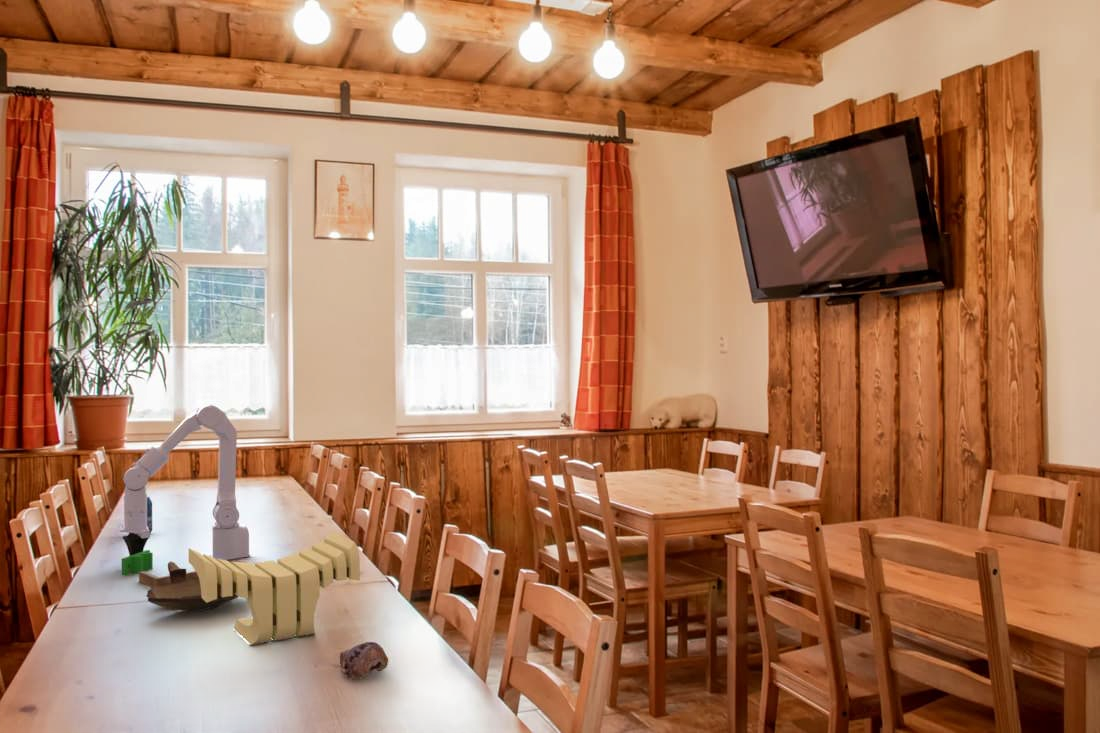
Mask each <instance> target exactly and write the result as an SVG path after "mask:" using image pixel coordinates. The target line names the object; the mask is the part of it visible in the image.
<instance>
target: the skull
mask: <svg viewBox="0 0 1100 733" xmlns="http://www.w3.org/2000/svg"><path fill="white" fill-rule="evenodd" d="M340 664H341V666H340V667H341V671H340V672H341V673H343V674H344V675H345V676H346V678H347V677H348V678H347V679H349V678H351V679H350V680H355V679H354V678H356V680H361V679H360V678H362V679H364V678H365V677H366V676H367V675H368V674H370V673H372V672H373V671H377V672H382V671H384V670H385V669H386V668H387V667H388V664H389V657H388V656H387V654H386V652H385V650H384V648H383V647H382V646H381V645H380V644H379V643H378V642H375V641H368V642H364V643H361V644H360V643H359V644H358V645H355V646H353V647H351V648H350V649H345V650H344V651H341V652H340V655H339V665H340Z"/></svg>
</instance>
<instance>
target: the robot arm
mask: <svg viewBox="0 0 1100 733" xmlns="http://www.w3.org/2000/svg"><path fill="white" fill-rule="evenodd" d="M201 426H202V427H204V428H206V429H208V430H210V431H212V432H213V433H214V434H215V435H216V436H217V437H218V438H219V439H218V440H219V442H218V470H217V493H216V502H215V504H214V506H213V509H212V515H213V516H212V517H213V518H214V520H215V522H214V523H213V525H212V526H211V528H212V531H211V532H212V554H210V555H209V554H208V556H211V557H213V558H215V559H216V560H217V561H218V559H222V560H227V561H230V560H235V559H241V558H247V557H251V554H250V534H249V533H250V532H249V528H248V527H247V525H245V524H240V523H239V522H238V521H239V519H240V512H239V510H238V507H237V498H236V478H237V477H236V476H237V474H236V473H237V444H238V442H237V440H238V439H237V438H238V434H237V433H238V432H237V429H236V428H235V426H234V425H233V423H232V421H231V420H230V419H229V418H228V416H227V414H226V412H224V411H223V410H221V409H220V408H219V407H217V406H215V405H213V404H209V403H207V404H203V405H201V406H199V407H198V408H197V410H196V411H194V412H192V413H191V414H190V415H188V416H187V417H186V418H184V419H183V420H182V422H181V423H180V424H179V425H178V426H177V427H176V428H175V429H174V430H173V431H172V433H170V434H169V436H168V437H167V438H166V439H165V440H164V441H163V442H162V443H161V444H159V445H152V446H151V447H150V448H149V447H147V448H146V449H145V450H144V452H145V453H144V454H143V455H142V456H141V457H140V458H138V460H137V461H136V462H135V461H134V462H133V463H132V464H131V466H132V467H131V468H128V469H127V470H126V472H124V474H123V482H124V484H125V486H124V495H123V520H124V521H123V524H122V525H121V526H122V528H120V529H119V532H120V533H128V535H124V536H122V540H123V541H124V542H125V545H126V548H127V550H128V556H131V555H134V554H137V553H139V552H142V551H145V550H144V549H145V547H146V544H147V542H148V540H149V538H151V533H150V530H148V526H147V497H148V494H147V493H146V492H147V487H146V486H147V484H148V481H149V478H151V477H154V475H156V473H157V472H158V471H160V470H161V469H162V468H163V466H165V464H166V463H167V462H168V461H169V460H170V453H171V452H172V450H174V449H175V448H176V447H177V446H178V445H179V444H180V443H181V442H182V441H183V440H184V439H185V438H187V436H189V435H190V434H191V433H193V432H198V431H200V430H202V428H201Z"/></svg>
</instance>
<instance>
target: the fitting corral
mask: <svg viewBox="0 0 1100 733" xmlns="http://www.w3.org/2000/svg"><path fill="white" fill-rule="evenodd" d="M186 579H187V580H188V581H194V580H199V577H198V574H197V572H196V570H193V571H186ZM138 582H139V583H141V582H142V584H143V583H144V585H146V586H148V587H150V586H151V587H150V588H156V587H159V586H164V585H168V584H171V580H170V575H165V576H158V575H155V574H152V573H150V572H148V571H145V570H143V571H141V572H139V573H138Z"/></svg>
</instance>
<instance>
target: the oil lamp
mask: <svg viewBox="0 0 1100 733" xmlns="http://www.w3.org/2000/svg"><path fill="white" fill-rule="evenodd" d="M167 570H168V574H169V575H170V580H171V584H168V585H164V586H159V587H156V588H153V587H151V588H150V589H149V590H147V594H146V595H145V596H146V597H147V601H148V602H149V603H150V604H154V605H155V606H159V607H162V608H165V609H170V610H175V611H181V612H195V611H202V610H208V609H213V608H217V607H220V606H222V605H224V604H227V603H229V602H232V601H234V600H236V599H237V598H239V596H237V595H236V594H234V593H233V596H227V597H221V596H220V595H217V599H215V600H212V601H210V602H207V603H206V602H205V601H204V600H203V599H202V597H201V586H200V580H194V581H188V580H187V579H186V573H187V568H180V567H179V566H178V565H177V564H176V562H173V561H169V562H168V563H167ZM169 575H168V576H169Z"/></svg>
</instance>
